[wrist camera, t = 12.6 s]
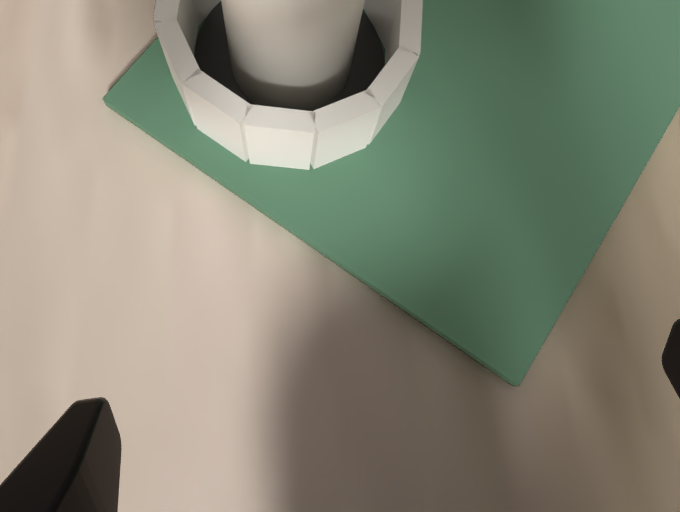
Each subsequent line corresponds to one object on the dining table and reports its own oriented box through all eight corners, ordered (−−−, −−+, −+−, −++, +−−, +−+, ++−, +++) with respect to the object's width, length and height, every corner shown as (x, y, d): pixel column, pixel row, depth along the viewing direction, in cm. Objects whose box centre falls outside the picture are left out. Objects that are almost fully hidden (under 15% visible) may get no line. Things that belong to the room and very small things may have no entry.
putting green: (717, 31, 28) (790, -29, 24) (512, 385, 23) (561, 385, 19) (372, -191, 29) (386, -284, 25) (106, 105, 24) (71, 48, 20)
